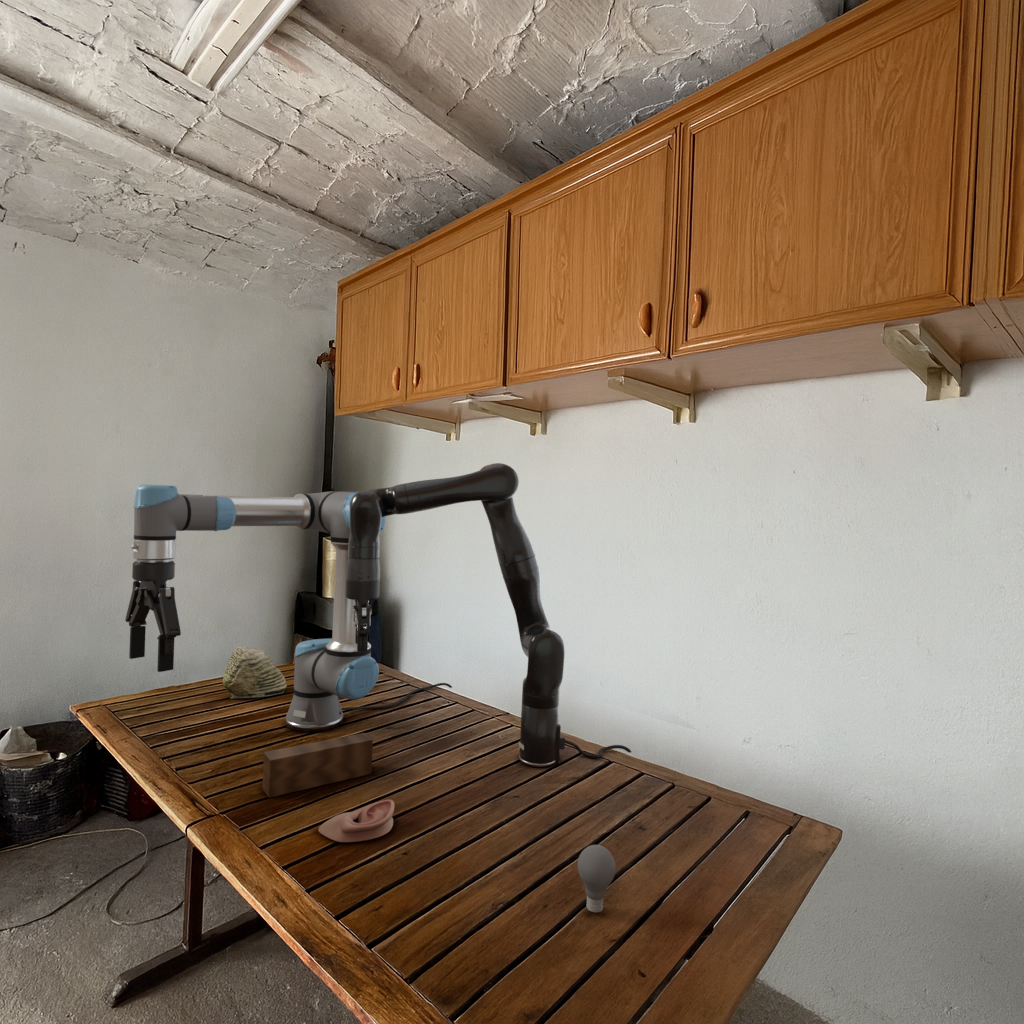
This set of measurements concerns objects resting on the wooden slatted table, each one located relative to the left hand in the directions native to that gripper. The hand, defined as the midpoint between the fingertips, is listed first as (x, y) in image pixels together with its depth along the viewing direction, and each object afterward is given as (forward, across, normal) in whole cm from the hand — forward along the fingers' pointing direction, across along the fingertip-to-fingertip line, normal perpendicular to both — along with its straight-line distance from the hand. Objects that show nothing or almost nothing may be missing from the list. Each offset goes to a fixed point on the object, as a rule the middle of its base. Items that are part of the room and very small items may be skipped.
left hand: (150, 664), depth 129 cm
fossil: (+28, -47, +50) cm, 74 cm away
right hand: (-1, +21, +37) cm, 42 cm away
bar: (+28, +18, +29) cm, 44 cm away
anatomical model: (+28, +40, +22) cm, 54 cm away
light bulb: (+28, +88, +32) cm, 97 cm away
